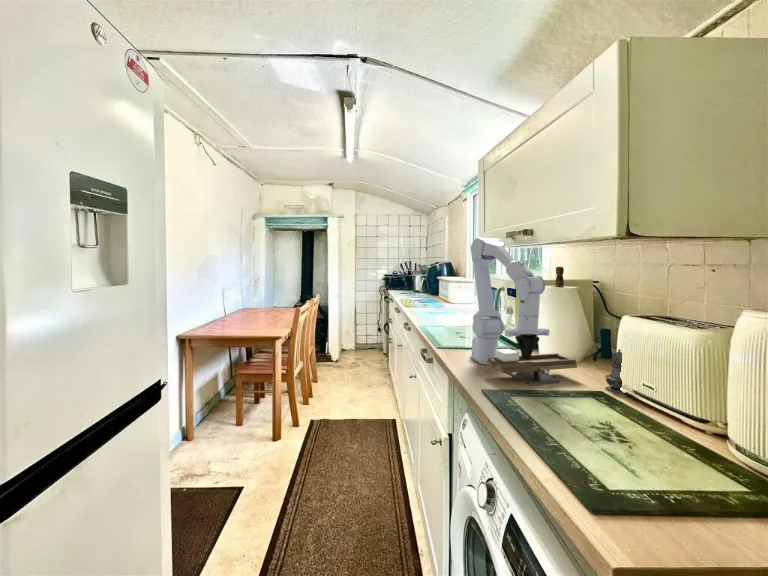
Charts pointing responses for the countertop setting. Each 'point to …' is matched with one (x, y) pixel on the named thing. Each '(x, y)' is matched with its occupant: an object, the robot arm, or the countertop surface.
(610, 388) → the dark grey chess piece
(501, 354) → the white block
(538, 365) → the brown wooden tray
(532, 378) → the fulcrum stand
